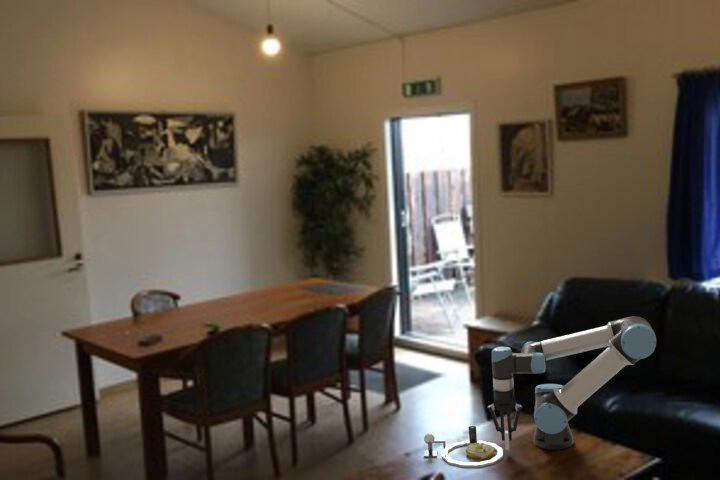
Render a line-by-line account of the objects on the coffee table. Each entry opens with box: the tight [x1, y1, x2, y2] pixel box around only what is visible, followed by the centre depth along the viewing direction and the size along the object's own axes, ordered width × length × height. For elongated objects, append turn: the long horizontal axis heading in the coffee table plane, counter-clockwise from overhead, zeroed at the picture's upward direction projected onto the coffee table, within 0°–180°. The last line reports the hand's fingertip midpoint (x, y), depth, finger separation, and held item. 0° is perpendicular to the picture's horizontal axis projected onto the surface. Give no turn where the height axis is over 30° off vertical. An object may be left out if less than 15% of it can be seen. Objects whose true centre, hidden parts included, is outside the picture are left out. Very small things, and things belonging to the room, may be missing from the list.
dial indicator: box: [423, 433, 447, 459], centre depth 284 cm, size 8×5×9 cm, turn 79°
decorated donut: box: [465, 443, 495, 461], centre depth 281 cm, size 10×11×4 cm
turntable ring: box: [441, 425, 504, 468], centre depth 282 cm, size 23×24×7 cm
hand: (507, 448), depth 279 cm, fingers closed
